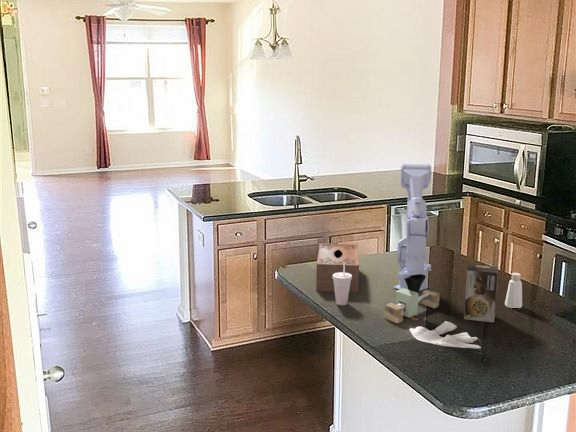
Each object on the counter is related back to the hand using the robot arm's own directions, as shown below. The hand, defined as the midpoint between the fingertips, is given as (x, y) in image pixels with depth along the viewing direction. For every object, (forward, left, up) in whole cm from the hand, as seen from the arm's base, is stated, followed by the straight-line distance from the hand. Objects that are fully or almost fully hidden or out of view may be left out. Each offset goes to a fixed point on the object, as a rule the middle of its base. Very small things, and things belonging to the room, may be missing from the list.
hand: (413, 296), depth 191 cm
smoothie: (+11, -20, -5) cm, 24 cm away
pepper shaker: (-30, +18, -5) cm, 35 cm away
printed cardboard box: (-13, +16, -6) cm, 21 cm away
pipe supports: (0, 0, -5) cm, 5 cm away
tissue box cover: (-5, -38, -6) cm, 38 cm away
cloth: (+5, +18, -6) cm, 20 cm away
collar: (+3, 0, -5) cm, 6 cm away
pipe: (0, 0, -3) cm, 3 cm away
